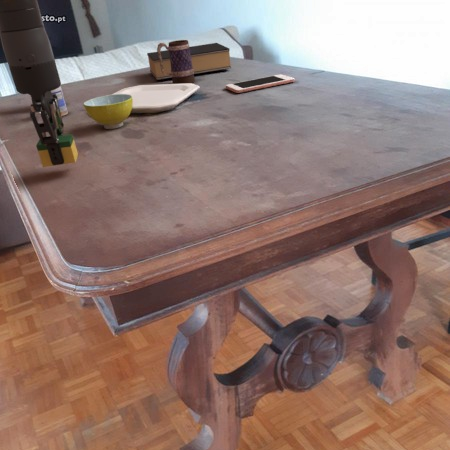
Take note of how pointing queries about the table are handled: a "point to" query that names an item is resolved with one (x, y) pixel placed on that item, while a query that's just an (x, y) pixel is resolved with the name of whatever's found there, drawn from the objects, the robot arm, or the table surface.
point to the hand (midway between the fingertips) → (60, 159)
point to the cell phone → (259, 83)
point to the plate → (158, 96)
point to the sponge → (66, 148)
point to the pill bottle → (60, 101)
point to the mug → (178, 61)
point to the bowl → (110, 109)
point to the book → (193, 60)
